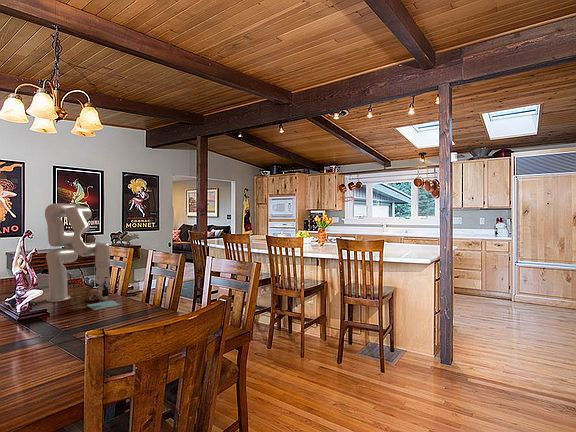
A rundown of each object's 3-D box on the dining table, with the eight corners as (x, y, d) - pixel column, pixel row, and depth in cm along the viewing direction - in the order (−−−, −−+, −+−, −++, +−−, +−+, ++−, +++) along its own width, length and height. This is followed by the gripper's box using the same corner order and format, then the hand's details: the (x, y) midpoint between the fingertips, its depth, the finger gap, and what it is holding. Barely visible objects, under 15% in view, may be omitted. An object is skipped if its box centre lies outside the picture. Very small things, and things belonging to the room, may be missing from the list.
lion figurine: (112, 297, 220) (111, 283, 220) (110, 299, 215) (110, 285, 215) (85, 299, 216) (85, 285, 216) (83, 301, 211) (83, 287, 211)
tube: (97, 298, 202) (97, 281, 202) (106, 296, 206) (106, 280, 206) (100, 300, 199) (99, 282, 199) (109, 298, 202) (109, 281, 202)
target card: (86, 305, 203) (86, 305, 203) (112, 300, 212) (112, 300, 212) (94, 310, 193) (94, 309, 193) (120, 305, 203) (120, 304, 203)
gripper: (91, 263, 205) (91, 294, 206) (100, 266, 193) (101, 299, 194) (104, 262, 211) (105, 292, 211) (114, 265, 199) (115, 296, 199)
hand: (103, 295), depth 202 cm, fingers closed on tube, 5 cm apart
